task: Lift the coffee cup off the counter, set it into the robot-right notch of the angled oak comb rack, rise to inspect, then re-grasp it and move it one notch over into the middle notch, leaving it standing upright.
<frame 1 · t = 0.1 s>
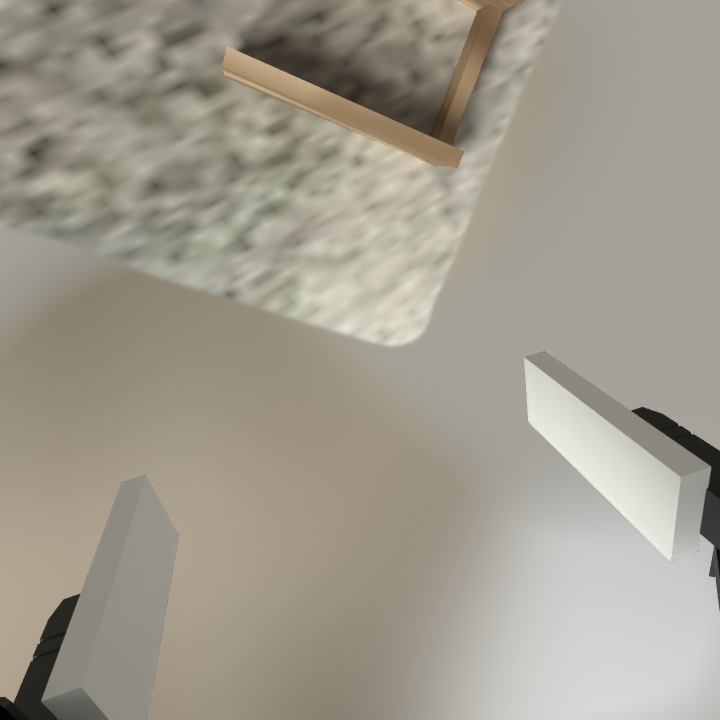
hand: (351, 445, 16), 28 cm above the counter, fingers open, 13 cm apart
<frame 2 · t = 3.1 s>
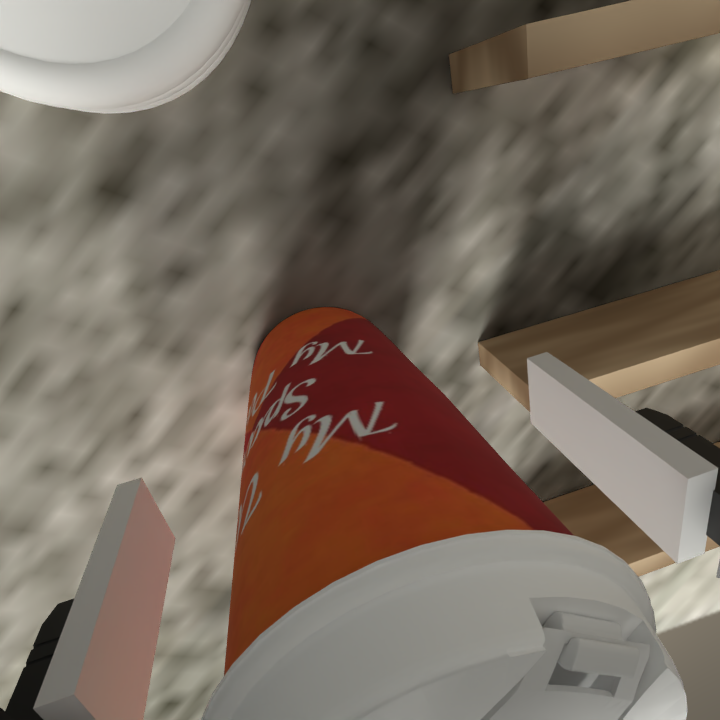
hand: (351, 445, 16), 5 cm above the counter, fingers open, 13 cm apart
oak rack: (578, 202, 20), on the counter
coffee cup: (322, 371, 20), on the counter
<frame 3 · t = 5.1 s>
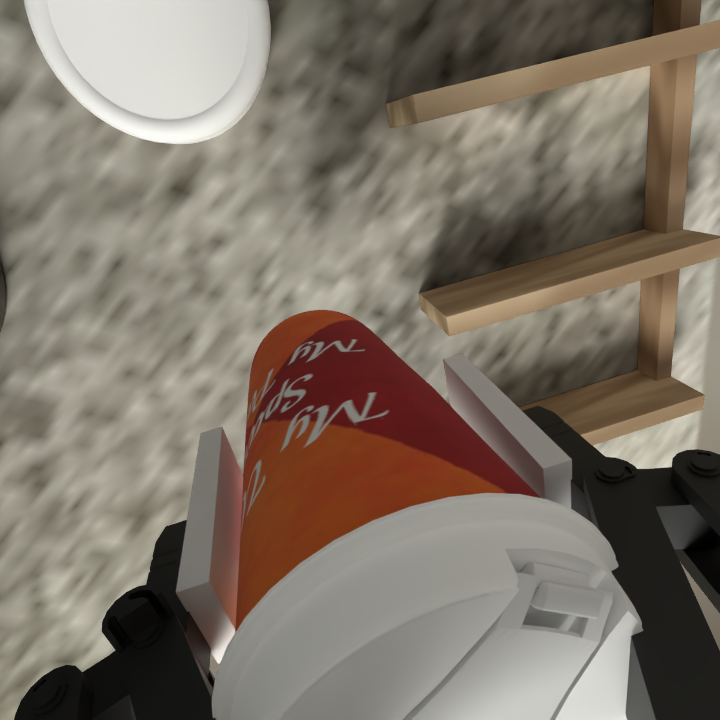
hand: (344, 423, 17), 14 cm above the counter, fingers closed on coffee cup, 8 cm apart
white round dish: (165, 33, 23), on the counter
oak rack: (481, 196, 29), on the counter
coffee cup: (317, 372, 21), point 9 cm above the counter, touching gripper
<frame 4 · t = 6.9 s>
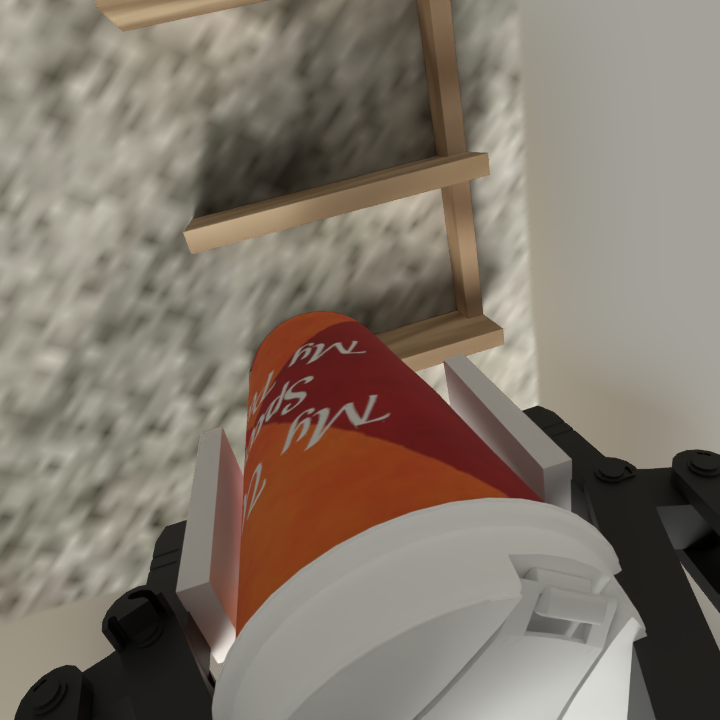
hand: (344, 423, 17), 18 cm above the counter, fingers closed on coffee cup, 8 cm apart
oak rack: (244, 112, 28), on the counter
coffee cup: (317, 373, 21), point 13 cm above the counter, touching gripper
when the fingers open (4 cm above the counter, at t = 9.1 s): coffee cup stays where it is, on the counter.
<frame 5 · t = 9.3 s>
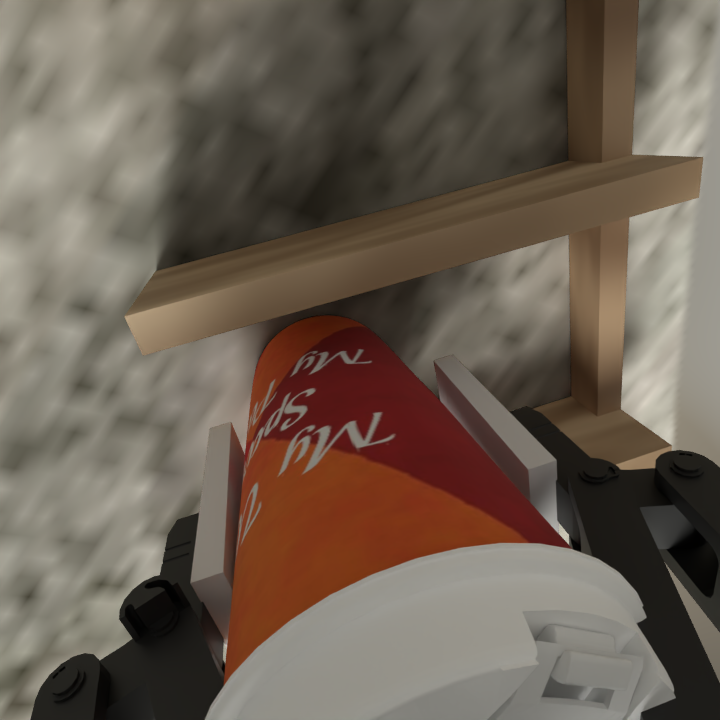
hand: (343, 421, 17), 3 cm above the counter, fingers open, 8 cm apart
oak rack: (246, 83, 15), on the counter
coffee cup: (322, 379, 21), on the counter, touching gripper
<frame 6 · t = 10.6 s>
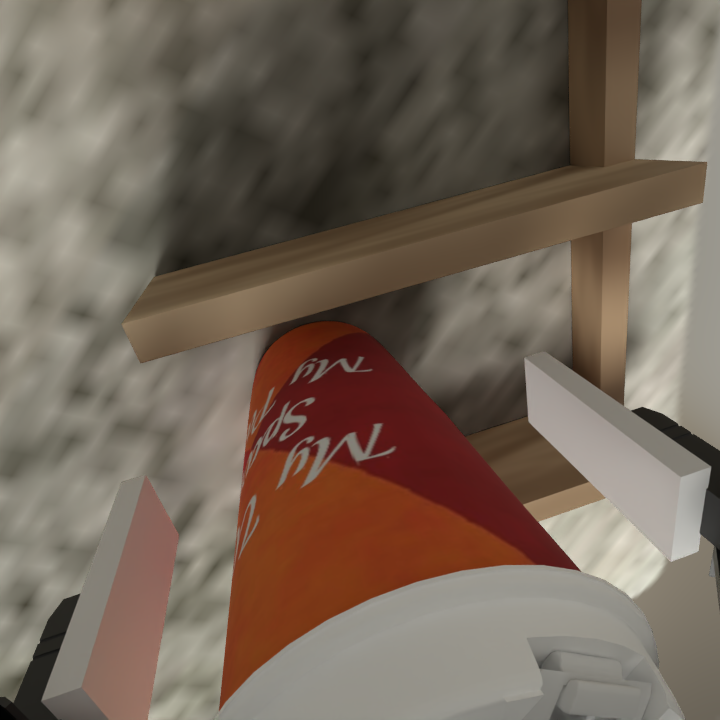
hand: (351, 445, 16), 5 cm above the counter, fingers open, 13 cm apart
oak rack: (245, 87, 15), on the counter
coffee cup: (323, 384, 20), on the counter
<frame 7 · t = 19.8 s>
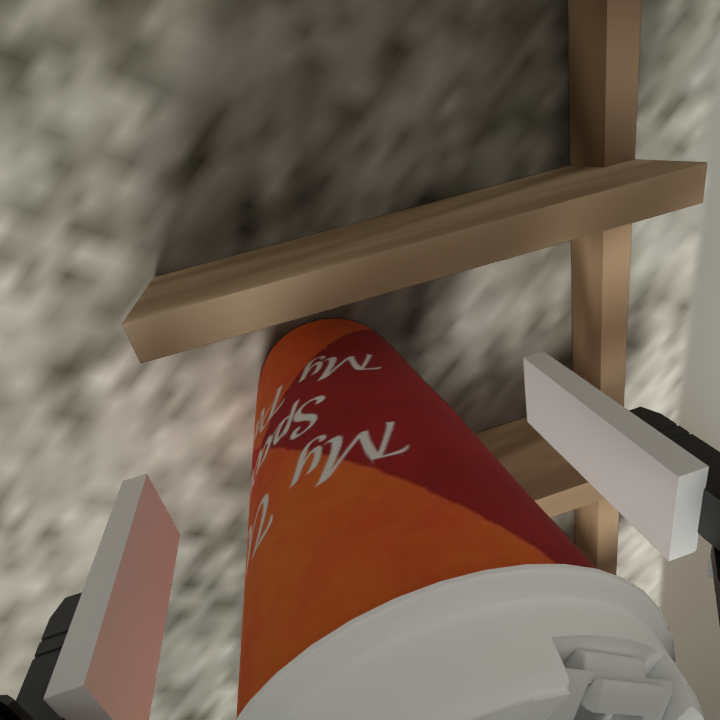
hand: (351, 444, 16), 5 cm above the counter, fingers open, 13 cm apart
oak rack: (329, 383, 20), on the counter
coffee cup: (328, 382, 20), on the counter
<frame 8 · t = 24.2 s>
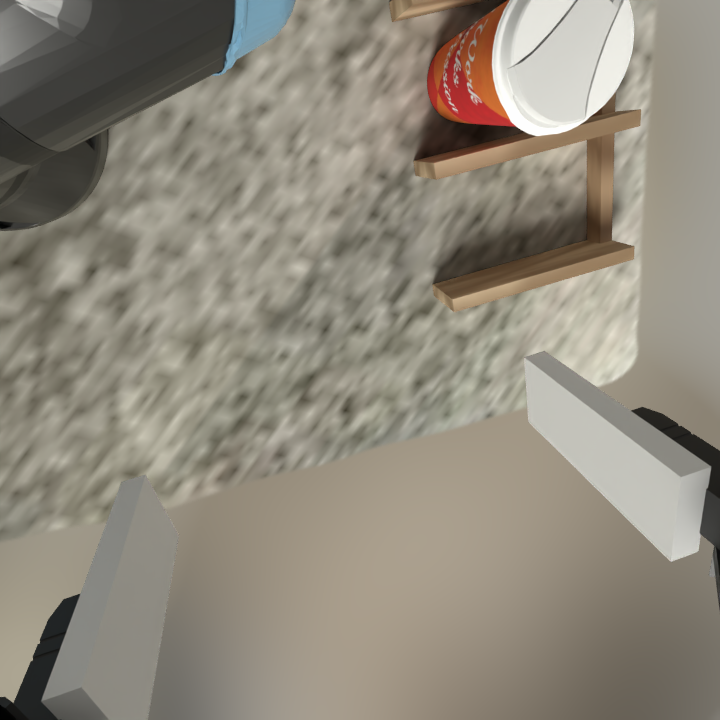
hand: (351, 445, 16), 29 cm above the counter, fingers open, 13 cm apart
oak rack: (461, 81, 39), on the counter
coffee cup: (459, 82, 39), on the counter
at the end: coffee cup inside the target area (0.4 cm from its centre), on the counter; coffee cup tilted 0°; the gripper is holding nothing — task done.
